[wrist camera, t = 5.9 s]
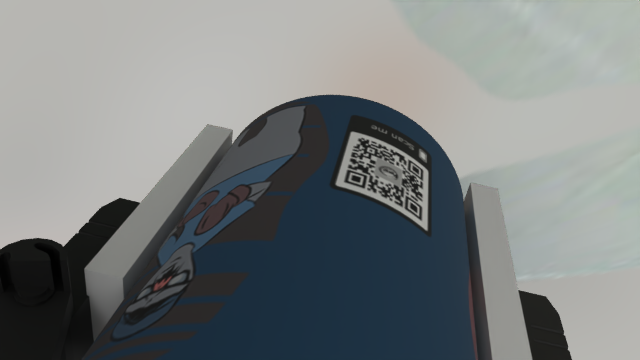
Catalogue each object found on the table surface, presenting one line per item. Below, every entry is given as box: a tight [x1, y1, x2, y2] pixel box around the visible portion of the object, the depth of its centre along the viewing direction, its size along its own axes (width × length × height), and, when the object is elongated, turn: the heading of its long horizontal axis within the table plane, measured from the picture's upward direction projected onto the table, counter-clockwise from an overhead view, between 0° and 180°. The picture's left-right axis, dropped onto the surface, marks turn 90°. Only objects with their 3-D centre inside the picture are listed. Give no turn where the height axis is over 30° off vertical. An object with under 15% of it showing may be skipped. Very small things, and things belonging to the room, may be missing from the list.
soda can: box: [82, 95, 478, 360], centre depth 11 cm, size 7×7×12 cm
